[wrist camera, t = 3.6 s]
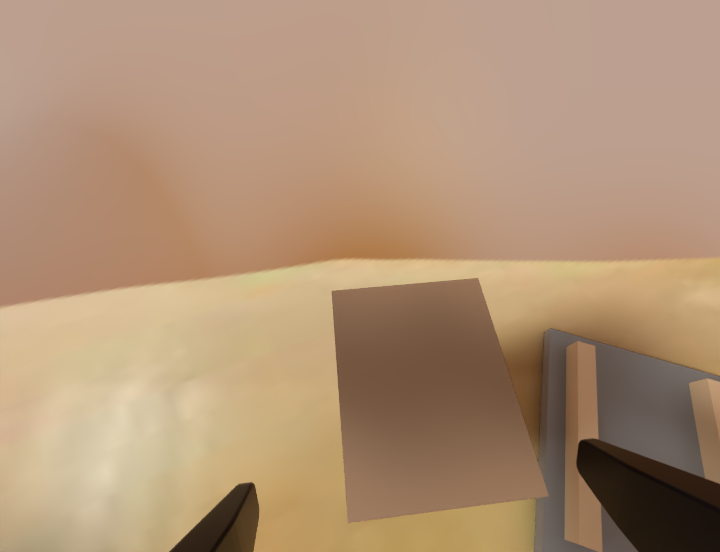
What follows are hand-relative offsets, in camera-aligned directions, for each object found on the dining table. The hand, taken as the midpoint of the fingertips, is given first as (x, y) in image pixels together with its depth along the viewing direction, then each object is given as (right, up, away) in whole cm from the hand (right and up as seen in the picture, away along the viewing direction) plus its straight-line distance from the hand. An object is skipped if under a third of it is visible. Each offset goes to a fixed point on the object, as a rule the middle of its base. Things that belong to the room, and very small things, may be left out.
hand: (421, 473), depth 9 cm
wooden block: (0, -4, +10) cm, 11 cm away
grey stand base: (+13, -5, +9) cm, 17 cm away
